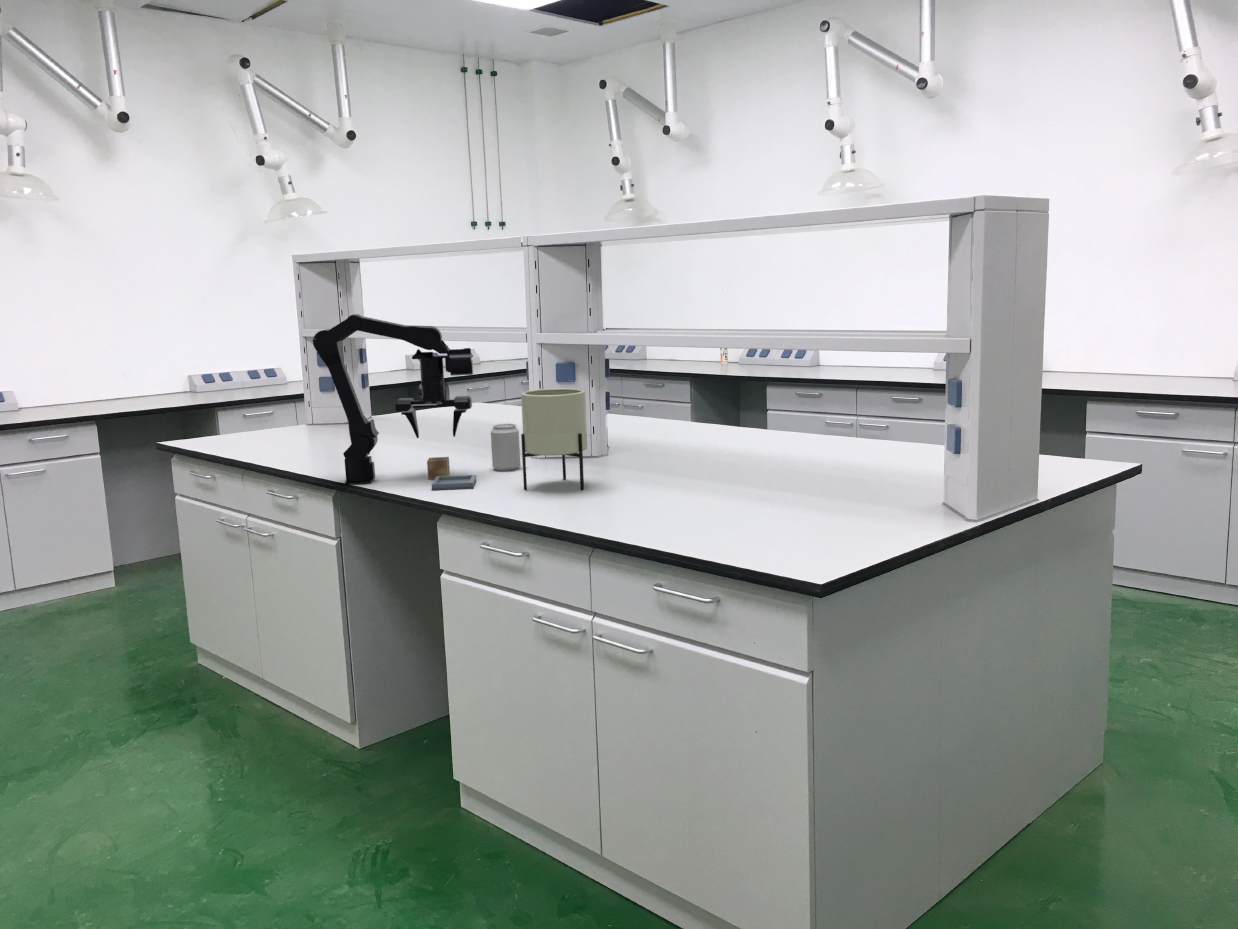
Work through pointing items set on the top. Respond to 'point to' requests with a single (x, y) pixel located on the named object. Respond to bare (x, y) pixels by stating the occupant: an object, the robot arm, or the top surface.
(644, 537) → the top surface
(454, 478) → the tray
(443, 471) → the cube
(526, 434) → the planter
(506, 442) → the can
